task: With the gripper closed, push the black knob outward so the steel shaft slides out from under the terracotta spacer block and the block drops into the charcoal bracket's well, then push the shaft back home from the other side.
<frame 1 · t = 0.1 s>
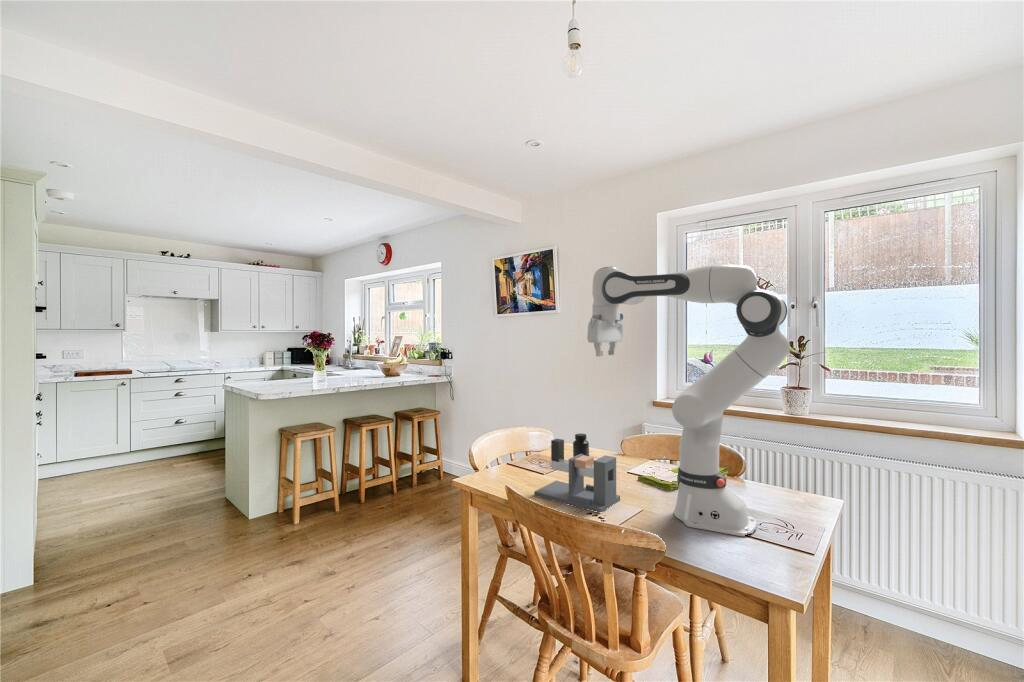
hand: (605, 355, 153), 48 cm above the table, tool pointing down, fingers open, 8 cm apart
dish towel: (684, 478, 172), on the table
supplement bottle: (581, 462, 192), on the table
bracket: (576, 497, 151), on the table
shaft: (577, 458, 151), point 13 cm above the table, slide at 0.0 cm, touching spacer
spacer: (584, 465, 149), point 11 cm above the table, touching shaft
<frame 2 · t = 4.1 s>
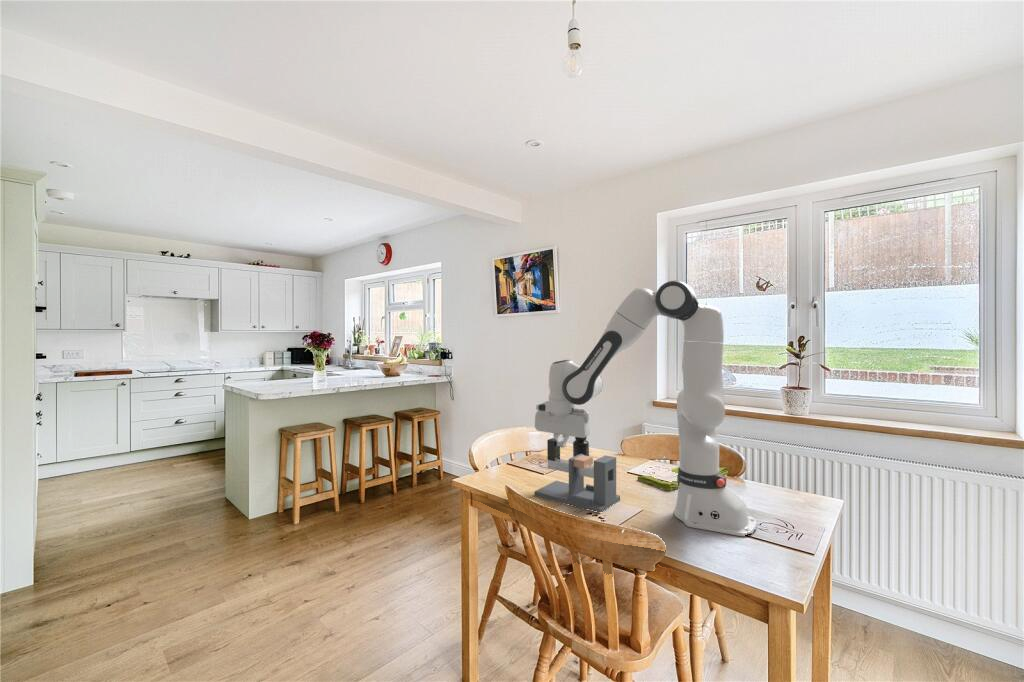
hand: (561, 446, 155), 16 cm above the table, tool pointing down, fingers closed
shaft: (573, 457, 152), point 13 cm above the table, slide at 1.6 cm, touching gripper, spacer
spacer: (583, 465, 150), point 12 cm above the table, touching bracket, shaft
everything else where it was.
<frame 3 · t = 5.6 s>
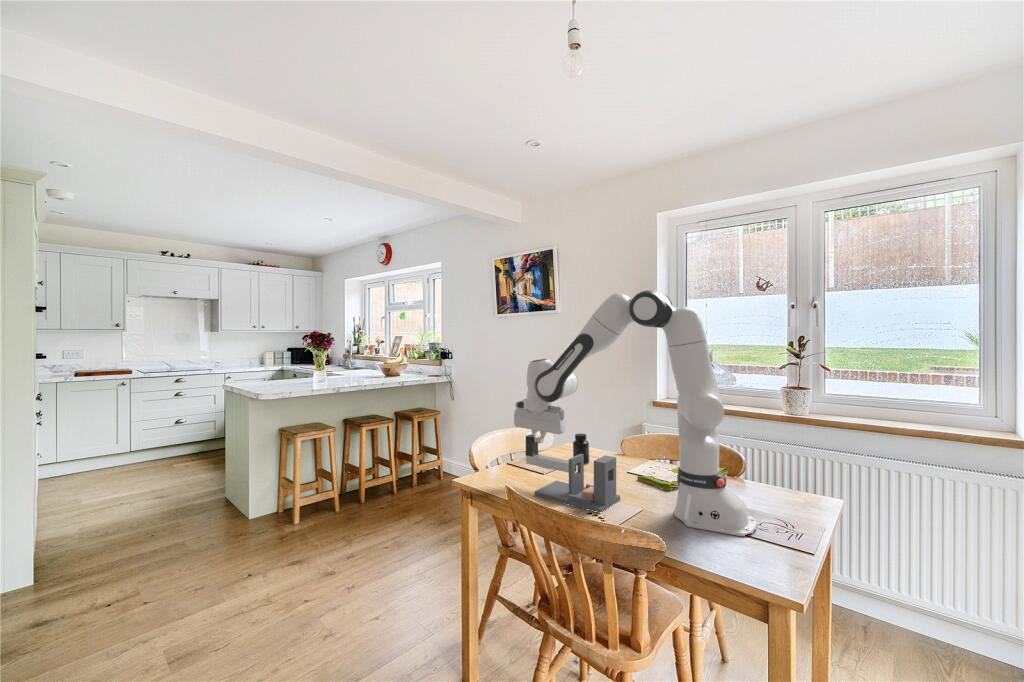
hand: (538, 442, 160), 16 cm above the table, tool pointing down, fingers closed
shaft: (550, 453, 157), point 13 cm above the table, slide at 11.0 cm, touching gripper
spacer: (591, 489, 148), point 4 cm above the table, tilted 180°, touching bracket
everything else where it was.
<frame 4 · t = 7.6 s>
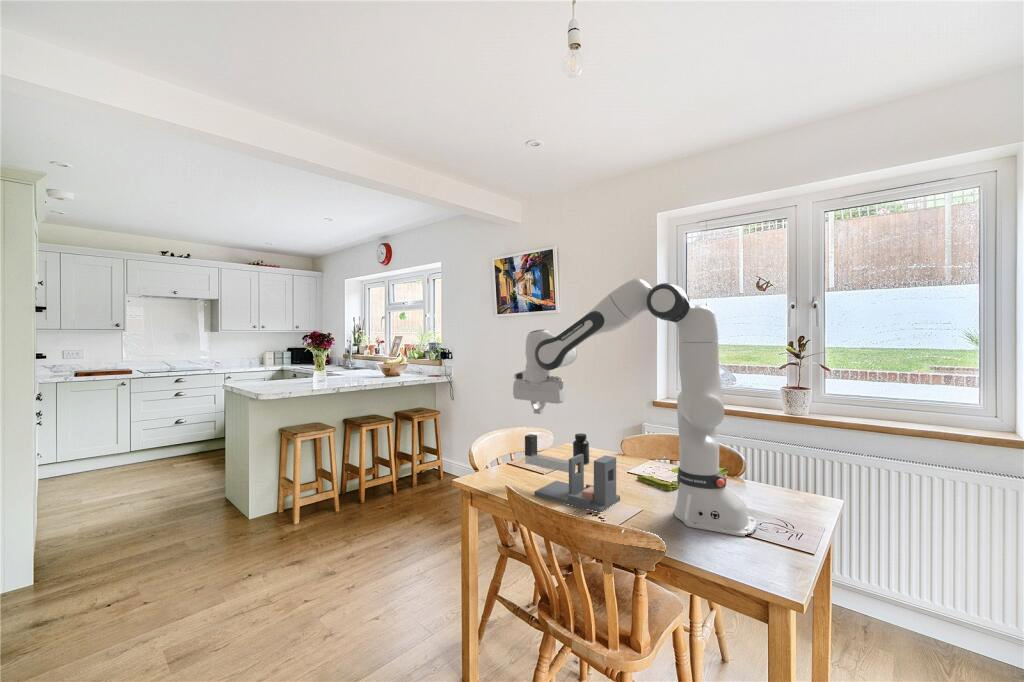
hand: (538, 413, 160), 27 cm above the table, tool pointing down, fingers closed
shaft: (549, 452, 158), point 13 cm above the table, slide at 11.3 cm
everything else where it was.
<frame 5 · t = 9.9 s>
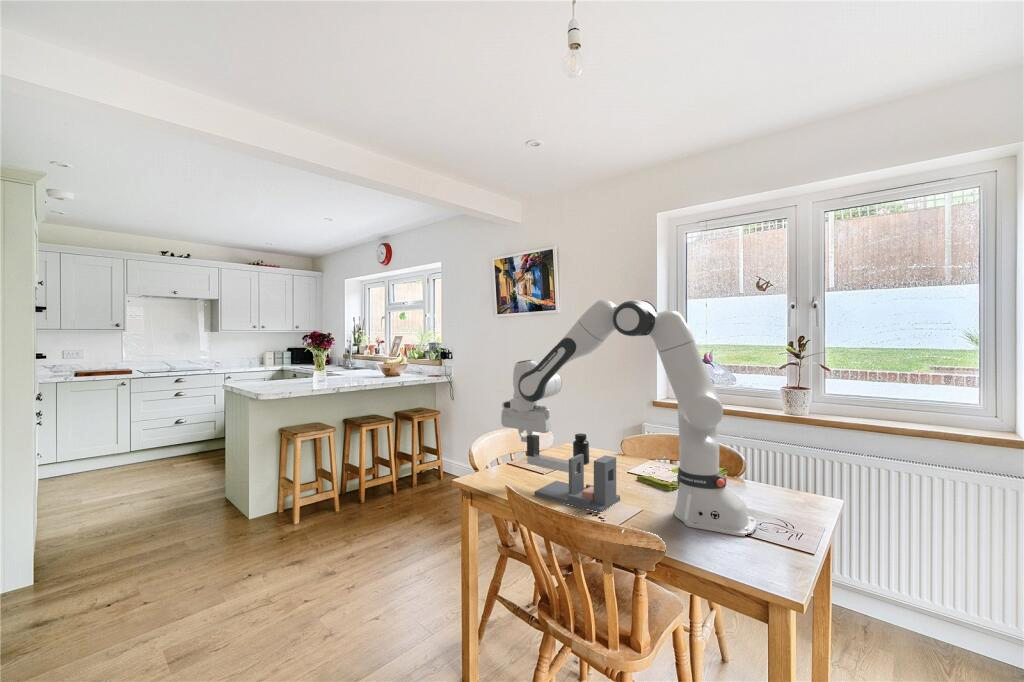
hand: (525, 441, 164), 16 cm above the table, tool pointing down, fingers closed
shaft: (551, 453, 157), point 13 cm above the table, slide at 10.4 cm, touching gripper
everything else where it was.
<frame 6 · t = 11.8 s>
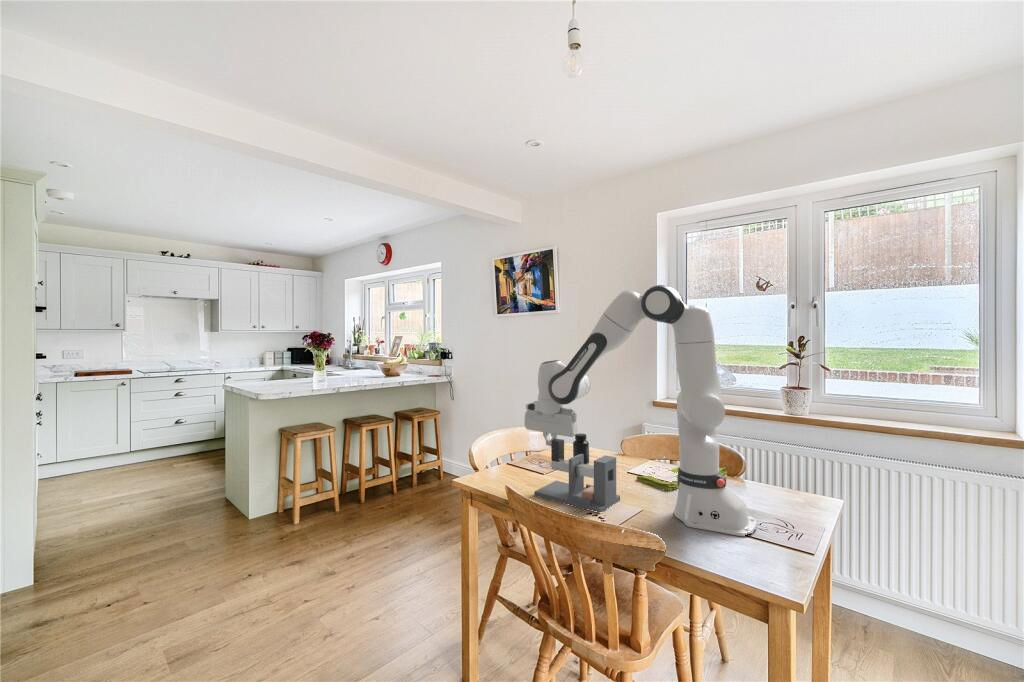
hand: (550, 445, 158), 16 cm above the table, tool pointing down, fingers closed
shaft: (578, 458, 151), point 13 cm above the table, slide at -0.1 cm, touching gripper
everything else where it was.
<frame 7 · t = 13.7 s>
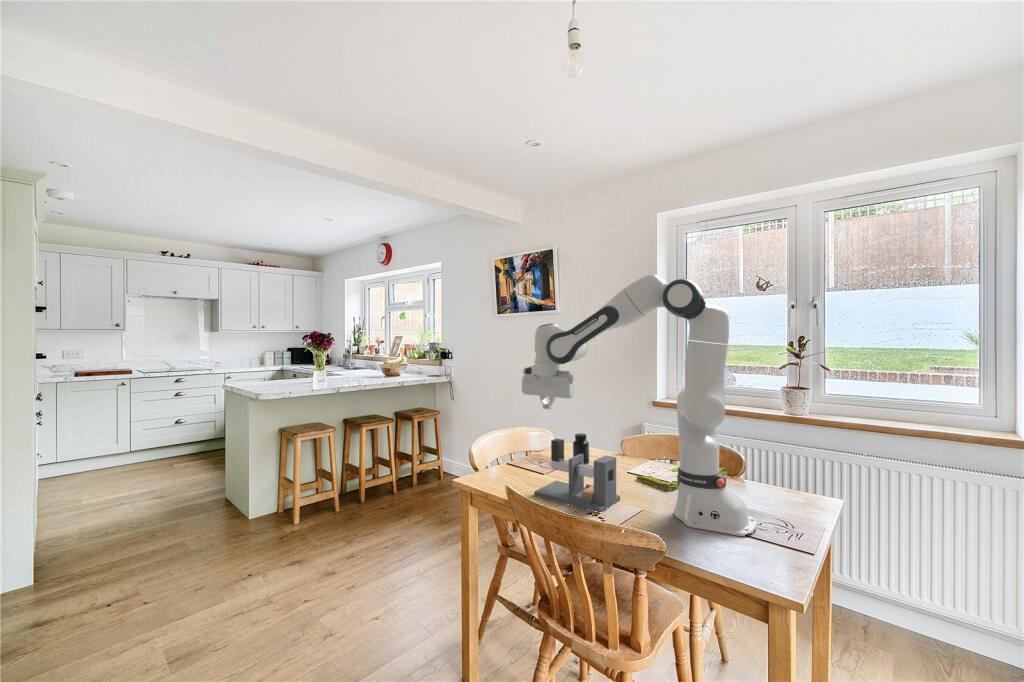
hand: (547, 408, 158), 29 cm above the table, tool pointing down, fingers closed
shaft: (577, 458, 151), point 13 cm above the table, slide at 0.0 cm
everything else where it was.
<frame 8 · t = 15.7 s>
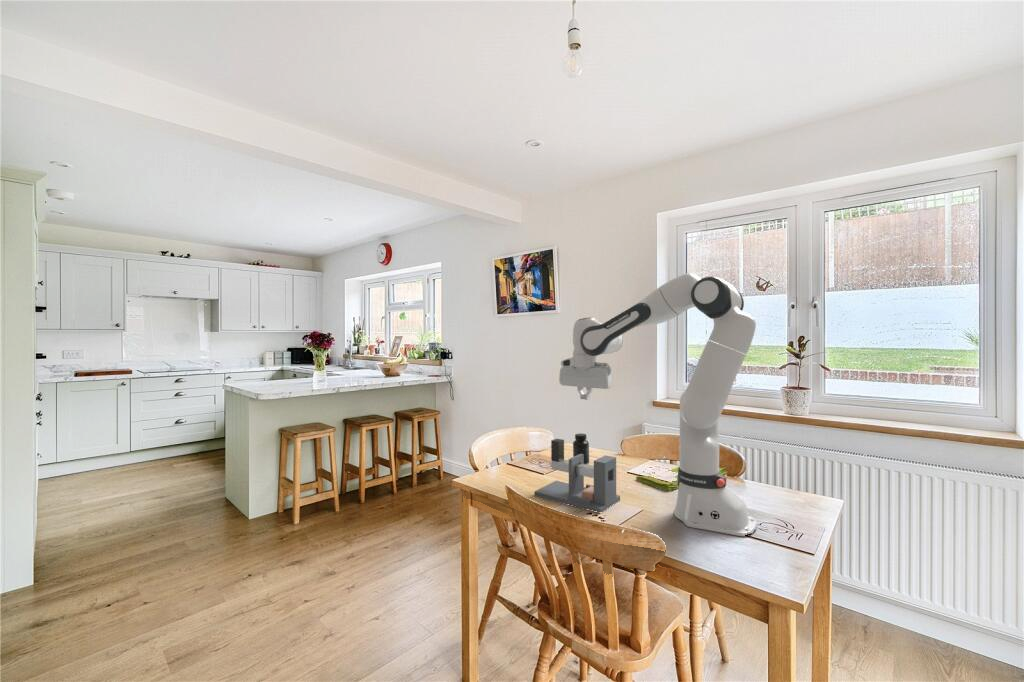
hand: (584, 399, 166), 31 cm above the table, tool pointing down, fingers closed
nothing on the table moved.
at the end: spacer inside the target area (1.8 cm from its centre), point 4.0 cm above the table; shaft slide at 0.0 cm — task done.
